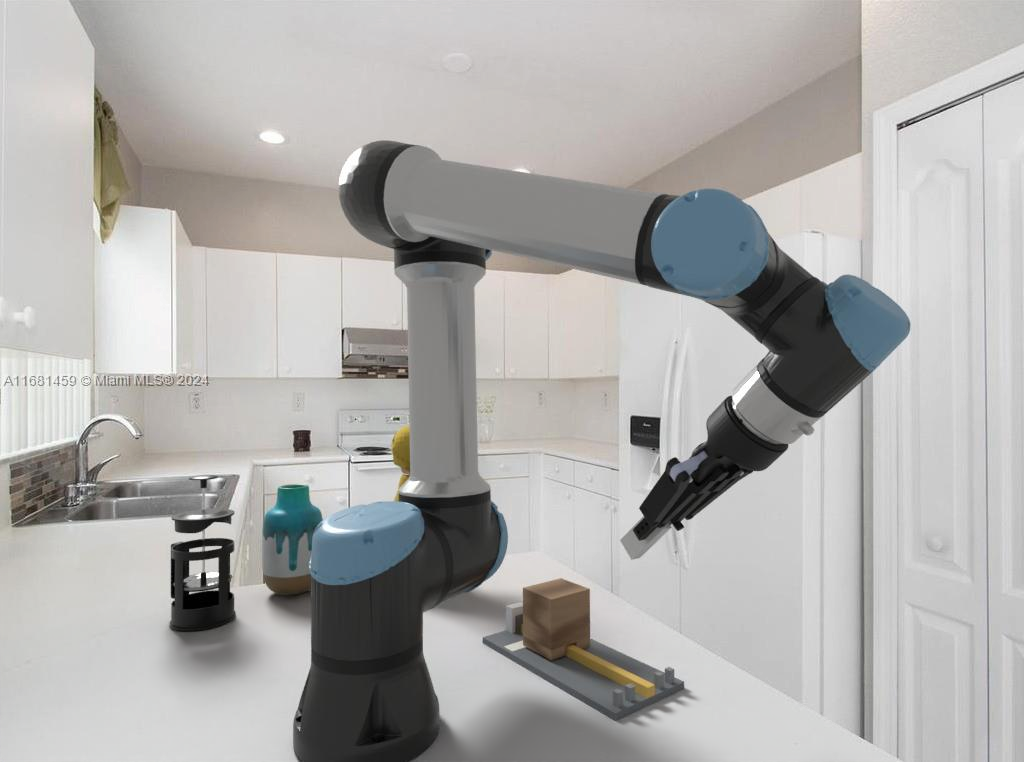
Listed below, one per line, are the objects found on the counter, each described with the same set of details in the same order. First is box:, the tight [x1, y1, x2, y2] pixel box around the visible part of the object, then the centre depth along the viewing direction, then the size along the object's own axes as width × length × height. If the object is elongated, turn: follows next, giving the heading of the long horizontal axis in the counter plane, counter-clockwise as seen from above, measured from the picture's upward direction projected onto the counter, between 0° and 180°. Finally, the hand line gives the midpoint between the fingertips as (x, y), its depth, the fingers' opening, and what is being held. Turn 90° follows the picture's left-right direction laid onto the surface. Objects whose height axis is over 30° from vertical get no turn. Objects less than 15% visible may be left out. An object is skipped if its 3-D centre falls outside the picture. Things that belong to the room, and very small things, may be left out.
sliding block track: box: [482, 600, 685, 721], centre depth 81 cm, size 26×12×4 cm, turn 37°
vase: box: [261, 483, 324, 596], centre depth 111 cm, size 11×11×19 cm
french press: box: [169, 474, 237, 633], centre depth 97 cm, size 12×9×23 cm
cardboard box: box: [522, 577, 591, 660], centre depth 84 cm, size 6×7×8 cm
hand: (630, 549), depth 74 cm, fingers closed
